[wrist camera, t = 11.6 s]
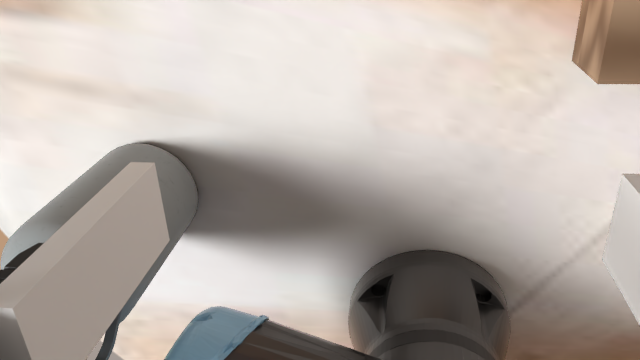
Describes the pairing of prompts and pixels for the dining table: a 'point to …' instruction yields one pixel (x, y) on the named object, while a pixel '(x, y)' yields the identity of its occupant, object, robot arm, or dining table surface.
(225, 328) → the robot arm
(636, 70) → the brown hollow block
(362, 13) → the dining table surface
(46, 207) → the water bottle
